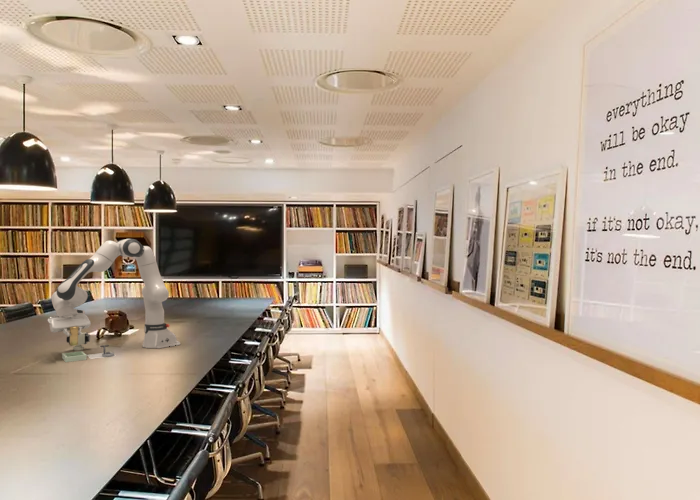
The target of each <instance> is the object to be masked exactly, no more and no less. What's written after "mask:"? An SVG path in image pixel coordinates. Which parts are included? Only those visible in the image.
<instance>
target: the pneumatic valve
mask: <svg viewBox="0 0 700 500" xmlns="http://www.w3.org/2000/svg"><path fill="white" fill-rule="evenodd" d="M90 341H91V334H90V333H89V332H86V331H85V332H81V335H78V345H75V346H73V347H72V351H74V352H78V351H83V350H84V348H85V347H84V346H83V345H86V344H88V343H90ZM66 343H68V345H69V346H70V337H67V336H66Z"/></svg>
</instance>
